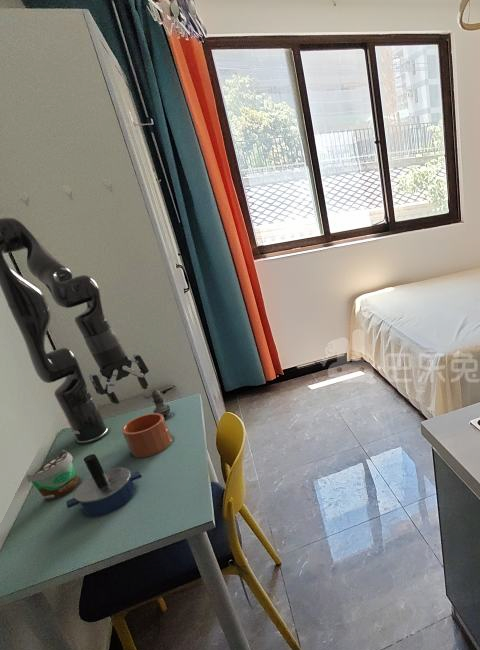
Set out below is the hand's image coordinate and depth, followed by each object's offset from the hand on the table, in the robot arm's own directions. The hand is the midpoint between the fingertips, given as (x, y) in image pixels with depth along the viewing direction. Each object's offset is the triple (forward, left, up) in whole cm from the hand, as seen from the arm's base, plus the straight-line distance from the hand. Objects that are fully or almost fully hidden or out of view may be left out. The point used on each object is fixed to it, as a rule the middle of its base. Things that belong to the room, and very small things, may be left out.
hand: (131, 395), depth 132 cm
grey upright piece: (-27, +7, -23) cm, 36 cm away
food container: (-3, -24, -23) cm, 33 cm away
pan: (+12, -14, -23) cm, 29 cm away
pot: (-9, 0, -23) cm, 24 cm away
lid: (+12, -14, -18) cm, 26 cm away
